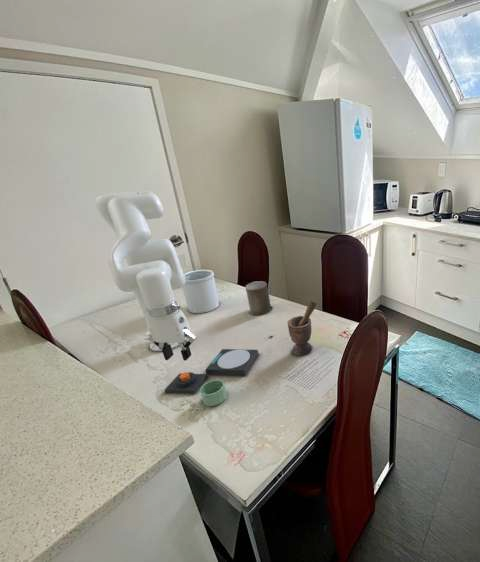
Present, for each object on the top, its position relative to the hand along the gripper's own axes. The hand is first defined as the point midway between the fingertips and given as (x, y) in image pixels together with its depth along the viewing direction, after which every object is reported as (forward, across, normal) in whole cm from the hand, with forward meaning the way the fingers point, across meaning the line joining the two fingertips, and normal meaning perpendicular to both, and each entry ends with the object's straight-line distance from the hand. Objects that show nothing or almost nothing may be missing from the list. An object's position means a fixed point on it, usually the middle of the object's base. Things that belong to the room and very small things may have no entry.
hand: (178, 357), depth 101 cm
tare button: (+9, 0, 0) cm, 9 cm away
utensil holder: (+12, +25, -55) cm, 62 cm away
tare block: (+11, 0, 0) cm, 11 cm away
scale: (+11, -11, -11) cm, 19 cm away
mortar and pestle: (+12, -35, -22) cm, 43 cm away
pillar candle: (+12, -5, -52) cm, 54 cm away
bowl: (+11, -13, +6) cm, 18 cm away
